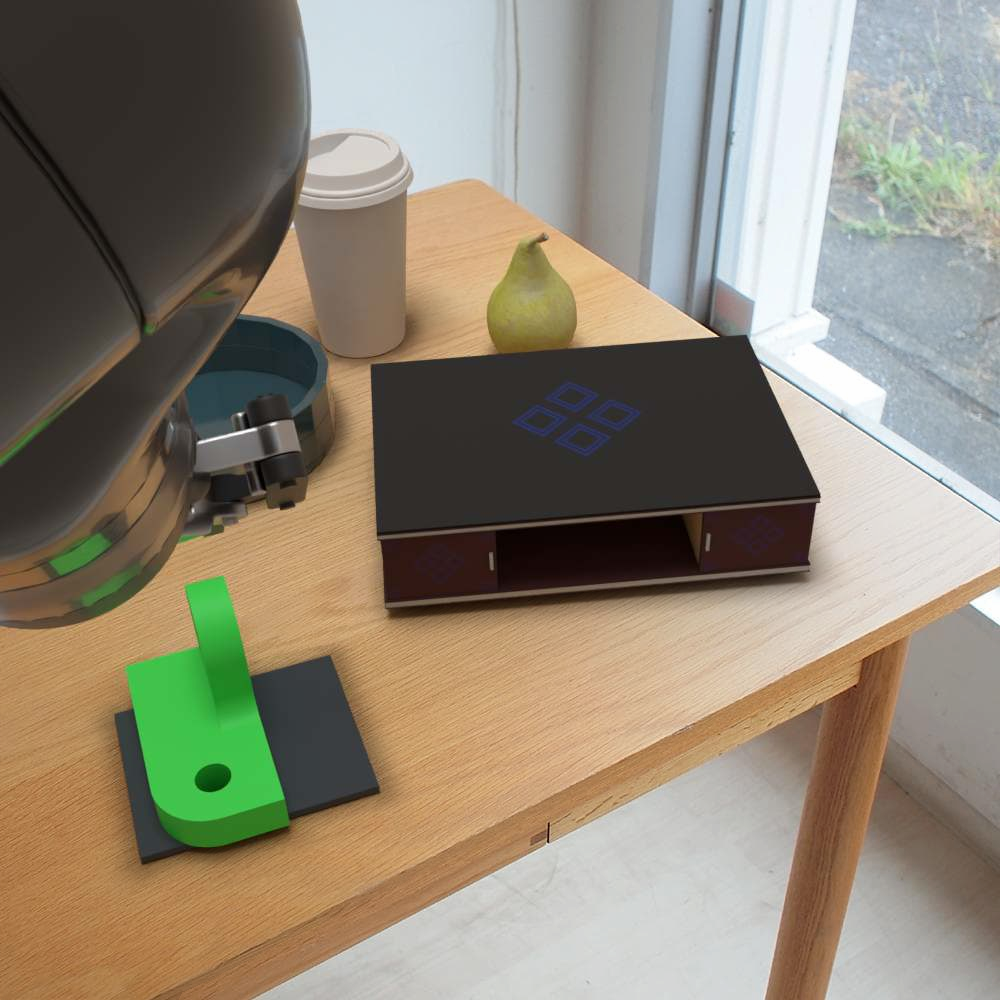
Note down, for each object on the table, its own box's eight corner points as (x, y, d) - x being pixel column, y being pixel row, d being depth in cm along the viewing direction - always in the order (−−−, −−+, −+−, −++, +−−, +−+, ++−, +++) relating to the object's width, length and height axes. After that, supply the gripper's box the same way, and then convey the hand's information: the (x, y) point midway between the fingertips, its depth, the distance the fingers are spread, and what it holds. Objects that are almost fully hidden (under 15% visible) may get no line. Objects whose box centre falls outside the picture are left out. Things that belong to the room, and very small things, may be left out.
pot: (112, 536, 84) (95, 474, 80) (84, 401, 96) (67, 342, 93) (362, 476, 88) (355, 414, 85) (304, 353, 100) (296, 295, 97)
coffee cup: (368, 291, 107) (350, 112, 98) (450, 332, 102) (439, 147, 92) (275, 338, 102) (246, 154, 92) (357, 384, 96) (335, 194, 87)
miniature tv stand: (808, 582, 78) (821, 494, 74) (386, 620, 77) (376, 532, 73) (738, 416, 92) (747, 333, 88) (378, 445, 90) (370, 363, 86)
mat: (142, 864, 64) (140, 858, 64) (115, 719, 71) (113, 713, 71) (380, 792, 67) (379, 785, 67) (331, 660, 74) (330, 654, 74)
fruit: (561, 325, 102) (561, 180, 94) (593, 376, 96) (595, 226, 89) (477, 339, 101) (470, 194, 93) (504, 392, 95) (499, 241, 87)
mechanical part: (132, 691, 72) (100, 583, 67) (240, 661, 74) (217, 554, 69) (168, 862, 63) (134, 752, 58) (290, 824, 65) (267, 714, 60)
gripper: (289, 232, 31) (259, 386, 47) (-371, 357, 28) (-167, 479, 44) (370, 536, 31) (312, 589, 46) (-295, 703, 27) (-116, 700, 43)
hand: (80, 536), depth 45 cm, fingers open, 8 cm apart
